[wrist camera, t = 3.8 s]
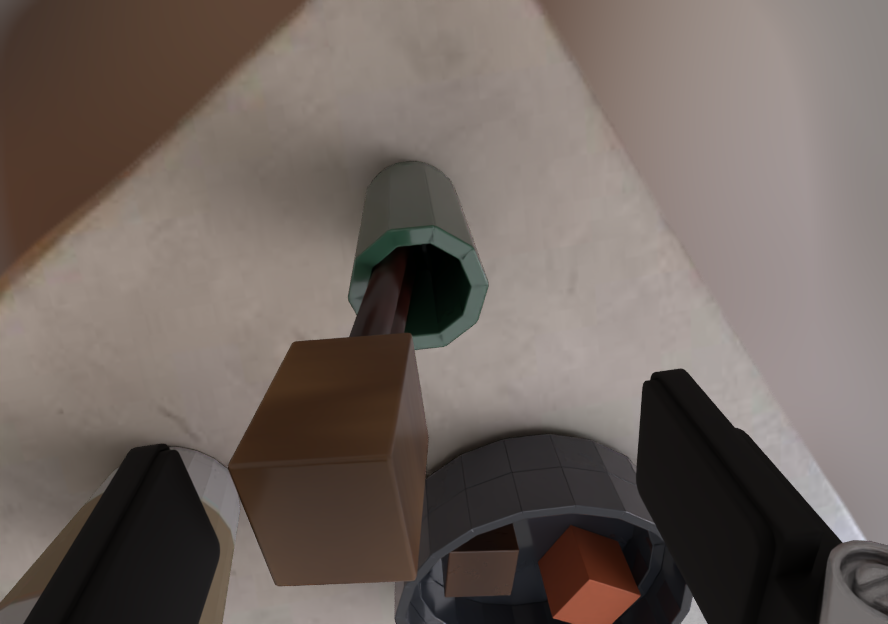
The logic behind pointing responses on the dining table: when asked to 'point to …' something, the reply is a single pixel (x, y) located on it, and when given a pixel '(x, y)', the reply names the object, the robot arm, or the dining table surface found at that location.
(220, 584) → the coffee cup
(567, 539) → the terracotta block
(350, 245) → the dining table surface
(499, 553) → the walnut block
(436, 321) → the holder
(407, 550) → the wooden cube mallet
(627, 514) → the bowl
